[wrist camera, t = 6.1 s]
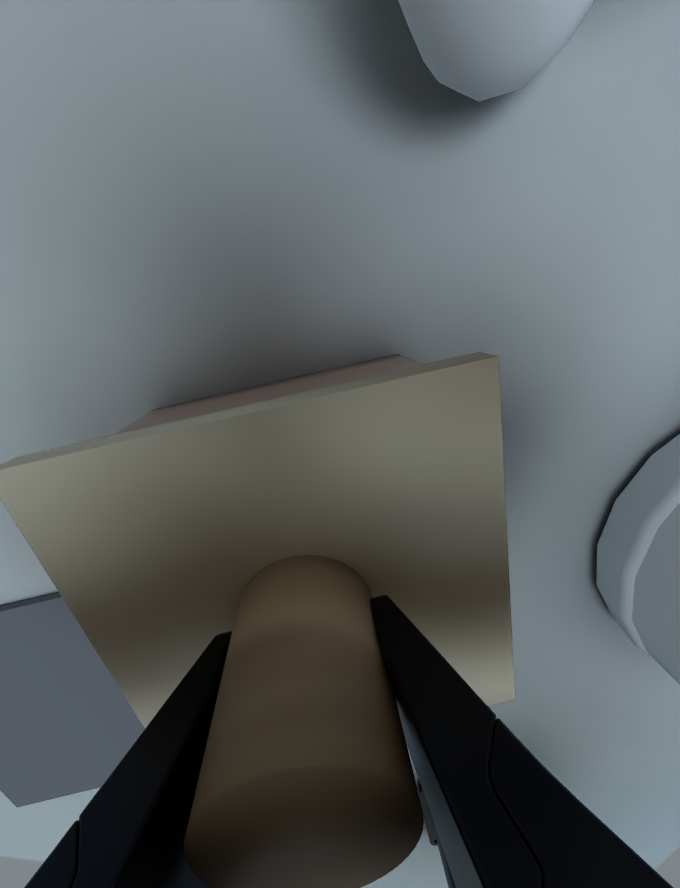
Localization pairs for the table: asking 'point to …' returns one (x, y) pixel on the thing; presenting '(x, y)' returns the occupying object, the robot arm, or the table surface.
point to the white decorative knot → (490, 40)
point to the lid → (290, 597)
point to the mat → (56, 705)
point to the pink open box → (272, 391)
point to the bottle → (646, 559)
